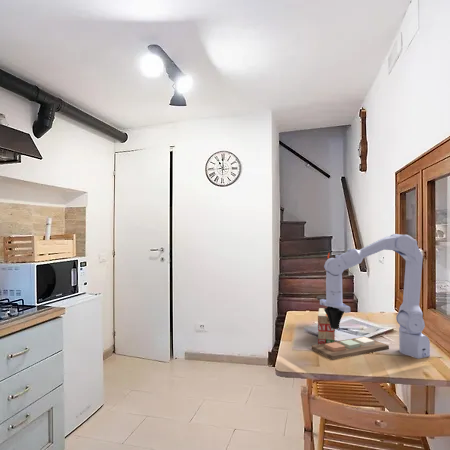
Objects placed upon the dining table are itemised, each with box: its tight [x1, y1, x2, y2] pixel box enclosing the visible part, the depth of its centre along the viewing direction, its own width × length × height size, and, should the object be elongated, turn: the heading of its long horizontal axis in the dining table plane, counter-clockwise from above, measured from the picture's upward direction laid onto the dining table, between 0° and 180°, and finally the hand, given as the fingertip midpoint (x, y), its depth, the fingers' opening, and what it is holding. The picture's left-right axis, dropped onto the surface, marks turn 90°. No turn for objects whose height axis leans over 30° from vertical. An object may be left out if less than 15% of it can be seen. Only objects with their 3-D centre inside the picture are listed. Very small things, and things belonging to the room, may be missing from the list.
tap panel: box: [311, 336, 390, 361], centre depth 136 cm, size 12×26×2 cm, turn 113°
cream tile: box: [355, 336, 375, 346], centre depth 139 cm, size 5×5×2 cm
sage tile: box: [339, 339, 360, 349], centre depth 136 cm, size 5×5×2 cm
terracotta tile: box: [325, 341, 345, 352], centre depth 133 cm, size 5×5×2 cm
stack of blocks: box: [317, 307, 336, 345], centre depth 151 cm, size 21×6×12 cm, turn 163°
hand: (334, 328), depth 133 cm, fingers closed
